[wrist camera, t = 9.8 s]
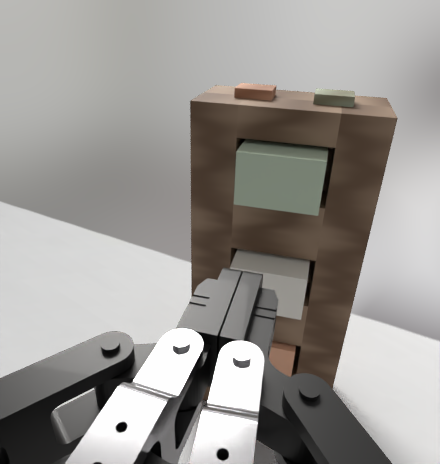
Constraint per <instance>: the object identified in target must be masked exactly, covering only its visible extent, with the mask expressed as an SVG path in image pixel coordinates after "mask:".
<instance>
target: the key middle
mask: <svg viewBox="0 0 440 464" xmlns="http://www.w3.org/2000/svg"><path fill="white" fill-rule="evenodd" d="M309 264H310V260H306V259H300V258H294V257H287V256H281V255H275V254H269V253H262V252H256V251H250V250H243V249H237V252H236V254H235V256H234V259H233V261H232V263H231V266H230V269H235V270H241V271H247V272H253V273H259V274H263V283H262V288H266V289H271V290H275V293H276V295H277V298H278V307H277V316H282V317H288V318H293V319H298V320H301V317H302V311H303V305H304V299H305V293H306V287H307V281H308V272H309Z"/></svg>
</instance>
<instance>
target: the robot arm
mask: <svg viewBox="0 0 440 464" xmlns="http://www.w3.org/2000/svg"><path fill="white" fill-rule="evenodd" d="M262 283H263V274H259V273H253V272H247V271H241V270H235V269H229V268H223V269H222V271H221V273H220V275H219V278H218V280H215V279H209V278H207V279H206V280H204V281H203V282H202V283H200V284H199V285H198V286H197V288H196V290H195V292H194V294H193V296H192V298H191V300H190V303H189V304H188V306H187V308H186V310H185V312H184V314H183V316H182V318H181V319H180V321H179V323H178V325H177V327H176V329H175V330H172V331H170V332H168V333H166V334H165V335H164V336H163V337H162V338H161V340H160V341H159V342H158V343H153V344H136V345H134V343H133V340H132V338H131V337H130V336H129V335H127V334H126V333H123V332H118V331H112V332H106V333H103V334H101V335H99V336H96V337H94V338H92V339H89V340H87V341H85V342H82V343H80V344H78V345H76V346H73V347H71V348H69V349H66V350H64V351H62V352H59V353H57V354H55V355H53V356H50V357H48V358H46V359H43V360H41V361H39V362H36V363H34V364H32V365H30V366H27V367H25V368H23V369H20V370H18V371H16V372H13V373H11V374H9V375H7V376H4V377H2V378H0V464H178V461H179V458H180V455H181V453H182V451H183V448H184V446H185V444H186V442H187V439H188V437H189V435H190V433H191V430H192V428H193V426H194V423H195V421H196V419H197V417H198V414H199V412H200V410H201V407H202V399H203V397H204V394H205V391H206V388H207V387H211V390H210V394H209V398H208V402H207V405H204V407H203V409H202V413H201V417H200V421H199V425H198V429H197V433H196V437H195V441H194V445H193V449H192V453H191V457H190V461H189V464H253V460H254V451H255V442H256V439H257V440H258V441H260V442H262V443H263V444H265V445H266V446H268V447H269V448H271V449H273V450H274V454H275V457H276V460H277V462H278V464H392V463H391V462H390V460H389V459H388V458H387V457H386V455H385V454H384V453H383V452H382V450H381V449H380V448H379V447H378V445H377V444H376V443H375V442H374V440H373V439H372V438H371V437H370V435H369V434H368V433H367V432H366V430H365V429H364V428H363V427H362V426H361V424H360V423H359V422H358V421H357V419H356V418H355V417H354V416H353V414H352V413H351V412H350V411H349V409H348V408H347V407H346V406H345V404H344V403H343V402H342V401H341V399H340V398H339V397H338V396H337V394H336V393H335V392H334V391H333V389H332V388H331V387H330V386H329V385H328V384H327V382H325V381H324V380H323V379H321V378H320V377H318V376H316V375H313V374H308V373H299V374H295V375H293V376H291V377H289V376H287V375H285V374H283V373H282V372H280V371H279V370H277V369H276V368H275V367H274V366H273V365H272V363H271V362H270V360H269V355H270V350H271V346H272V341H273V336H274V330H275V323H276V315H277V307H278V298H277V295H276V293H275V290H271V289H266V288H262ZM92 388H94V389H95V390H93V391H91V392H89V393H87V394H85V395H83V396H81V397H79V398H77V399H75V400H73V401H71V402H69V403H67V404H65V405H63V406H61V407H59V408H57V409H55V408H56V407H57V406H59V405H60V404H62V403H64V402H66V401H68V400H70V399H72V398H74V397H76V396H78V395H80V394H82V393H84V392H86V391H88V390H90V389H92ZM54 409H55V410H54Z"/></svg>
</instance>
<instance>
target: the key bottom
mask: <svg viewBox="0 0 440 464" xmlns="http://www.w3.org/2000/svg"><path fill="white" fill-rule="evenodd" d="M295 349H296V345H292V344H287V343H282V342H277V341H272V346H271V350H270V355H269V360H270V362H271V363H272V365H273V366H274V367H275V368H276V369H277V370H279V371H280V372H282V373H283V374H285V375H287V376H289V377H291V374H292V368H293V362H294V356H295Z"/></svg>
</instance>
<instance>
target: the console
mask: <svg viewBox="0 0 440 464" xmlns="http://www.w3.org/2000/svg"><path fill="white" fill-rule="evenodd" d="M190 104H191V107H190V109H191V259H192V261H191V263H192V296H193V294H194V292H195V290H196V288H197V286H198V285H199V284H200V283H202V282H203V281H204V280H206V279H207V278H209V279H215V280H218V278H219V275H220V273H221V271H222V269H223V268H229V269H230V266H231V263H232V261H233V259H234V256H235V254H236V252H237V249H243V250H250V251H256V252H262V253H269V254H275V255H281V256H287V257H294V258H300V259H306V260H310V264H309V272H308V281H307V287H306V293H305V299H304V305H303V311H302V317H301V320H298V319H293V318H288V317H282V316H277V315H276V323H275V330H274V336H273V341H277V342H282V343H287V344H292V345H296V349H295V356H294V362H293V368H292V374H291V376H293V375H295V374H299V373H308V374H313V375H316V376H318V377H320V378H321V379H323V380H324V381H325V382H327V384H328V385H329V386H330V387H331V388H333V384H334V380H335V375H336V371H337V367H338V363H339V359H340V355H341V351H342V346H343V342H344V338H345V334H346V330H347V326H348V322H349V317H350V313H351V309H352V305H353V301H354V297H355V292H356V288H357V284H358V280H359V276H360V271H361V267H362V263H363V259H364V255H365V251H366V247H367V242H368V239H369V234H370V230H371V226H372V222H373V217H374V214H375V209H376V205H377V201H378V197H379V193H380V189H381V185H382V180H383V176H384V172H385V167H386V164H387V159H388V155H389V151H390V147H391V143H392V139H393V135H394V130H395V126H396V122H397V116H396V114H395V113H394V111H393V109H392V107H391V105H390V103H389V102H388V100H387V98H379V97H378V98H377V97H366V96H355V93H354V91H343V90H329V89H316V91H315V93H312V92H299V91H286V90H276V86H273V85H260V84H246V83H241V84H239V85H238V86H237V87H232V86H219V85H218V86H217V85H215V86H214V87H212V88H211V89H209V90H207V91H206V92H204V93H203V94H201V95H199V96H197V97H196V98H194V99H192V100H191V102H190ZM245 139H254V140H264V141H274V142H284V143H293V144H303V145H313V146H323V147H328V157H327V165H326V171H325V177H324V183H323V189H322V196H321V202H320V208H319V214H318V216H315V215H308V214H300V213H293V212H286V211H278V210H271V209H264V208H256V207H249V206H242V205H234V188H235V168H236V152H237V150H238V149H239V147H240V146H241V145H242V143H243V142H244V141H245ZM210 390H211V387H207V388H206V391H205V394H204V397H203V399H202V400H206V401H208V398H209V394H210Z"/></svg>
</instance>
